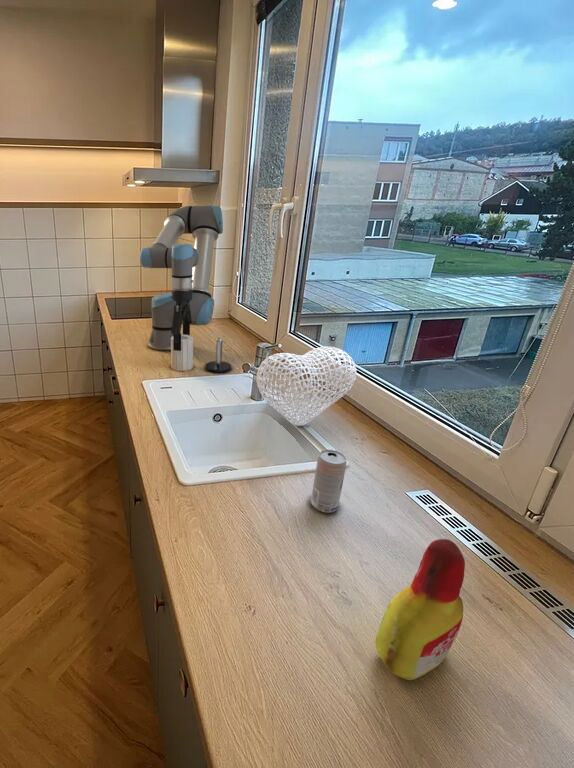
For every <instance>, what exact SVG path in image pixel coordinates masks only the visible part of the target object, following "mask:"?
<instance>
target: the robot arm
mask: <svg viewBox="0 0 574 768" xmlns="http://www.w3.org/2000/svg"><path fill="white" fill-rule="evenodd" d="M223 222H224V221H223V210H222V207H221V206H219V205H212V204H210V205H184V206H181V207H179V208H177V209H175V210H174V211H173V212H171V213H169V215H168V216H167V217H166V218H165V220H164V222H163V228H162V229H161V231H160V232H159V234H158V236H157V237H156V238H155V240H154V241H153V244H152V245H151V246H150V247H149V246H147V247H143V248H141V250H140V253H139V261H140V265H141V267H143V268H144V269H171V292H164V293H160V294H157V295H154V296H153V297H152V298H151V307H150V309H151V332H150V336H149V339H148V347H149V348H150V349H152V350H153V351H154V350H155V351H162V352H168V351H171V337H172V336H173V350H175V351H181V335H182V334H183V335H190V336H191V326H197V327H199V326H207V325H209V324H210V322H211V320H212V319H213V315H214V310H215V308H214V307H215V299H214V298H213V297H212V293H211V292H210V291H209V288H210V280H211V272H212V263H213V256H214V255H213V254H214V249H215V248H214V247H215V242H216V241H217V240H218V239H219V235H221V234H223V232H224V223H223ZM187 234H189V235H191V237H192V238H193V239H194V243H193V244H194V245H192V244H190V243H177V242H178V239H179V238H180V237H181V236H183V235H187ZM181 331H182V332H181Z"/></svg>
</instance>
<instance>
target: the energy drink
mask: <svg viewBox="0 0 574 768" xmlns="http://www.w3.org/2000/svg"><path fill="white" fill-rule="evenodd" d="M346 468H347V456H346V455H344V453H342V452H340V451H338V450H334V449H324V450H321V451H320V452H319V455H318V456H317V461H316V468H315V473H314V479H313V484H312V485H313V486H312V492H311V499H310V503H311V505H312V507H314V509H316V510H317V511H319V512H322V513H326V514H331V513H335V512H336V511H337V510H338V508H339V504H340V500H341V494H342V489H343V485H344V479H345V474H346Z"/></svg>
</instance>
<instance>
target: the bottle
mask: <svg viewBox="0 0 574 768" xmlns="http://www.w3.org/2000/svg"><path fill="white" fill-rule="evenodd" d="M465 561H466V560H465V557H464V554H463V552H462V551H461V549H460V547H458V545H457V544H456V543H455V542H454V541H452V540H451V539H447V538H440V539H435V540H433V541H431V543H430V544H429V545H428V546H427V547H426V549H425V550H424V553H423V555H422V558H421V561H420V563H419V567H418V569H417V572H416V573H415V574H414V577H413V580H412V581H411V583H410V584H409V585H408V586H406V587H405V588H404V589H402V590H401V591H399V592H398V593H396V594H395V595H394V597H393V598H392V599H391V601H389V603H388V605H387V607H386V609H385V612H384V614H383V616H382V619H381V622H380V624H379V627H378V630H377V634H376V636H375V641H374V644H375V649H376V652H377V654H378V656H379V658H380V659H381V661H382V662H383V663H382V664H383V665H384V666H385V667H386V668H387V669H388V671H390V672H391V674H393V675H395V676H397V677H399V678H401V679H403V680H407V681H412V680H416V679H419V678H420V677H422V676H424V675H426V674H427V673H429V672H430V671H432V670H433V669H435V668H437V667H438V666H439V665H440V664H441V663H442V662H443V661H444V659H445V658H446V656H447V655H448V654H449V652H450V650H451V649H452V646H453V644H454V642H455V640H456V638H457V636H458V634H459V631H460V629H461V626H462V622H463V618H464V603H463V600H462V597H461V596H460V594H461V589H462V587H463V583H464V579H465V570H466V562H465Z"/></svg>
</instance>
